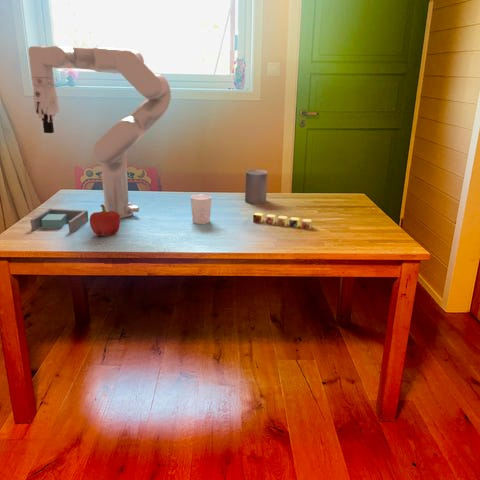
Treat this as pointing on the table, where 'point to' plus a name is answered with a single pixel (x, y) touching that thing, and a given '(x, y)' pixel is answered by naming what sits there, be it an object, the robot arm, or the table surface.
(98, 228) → the vegetable
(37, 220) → the box
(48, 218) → the teal square block
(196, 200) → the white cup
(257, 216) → the row of toy blocks
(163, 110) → the robot arm
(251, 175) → the pillar candle
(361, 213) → the table surface
